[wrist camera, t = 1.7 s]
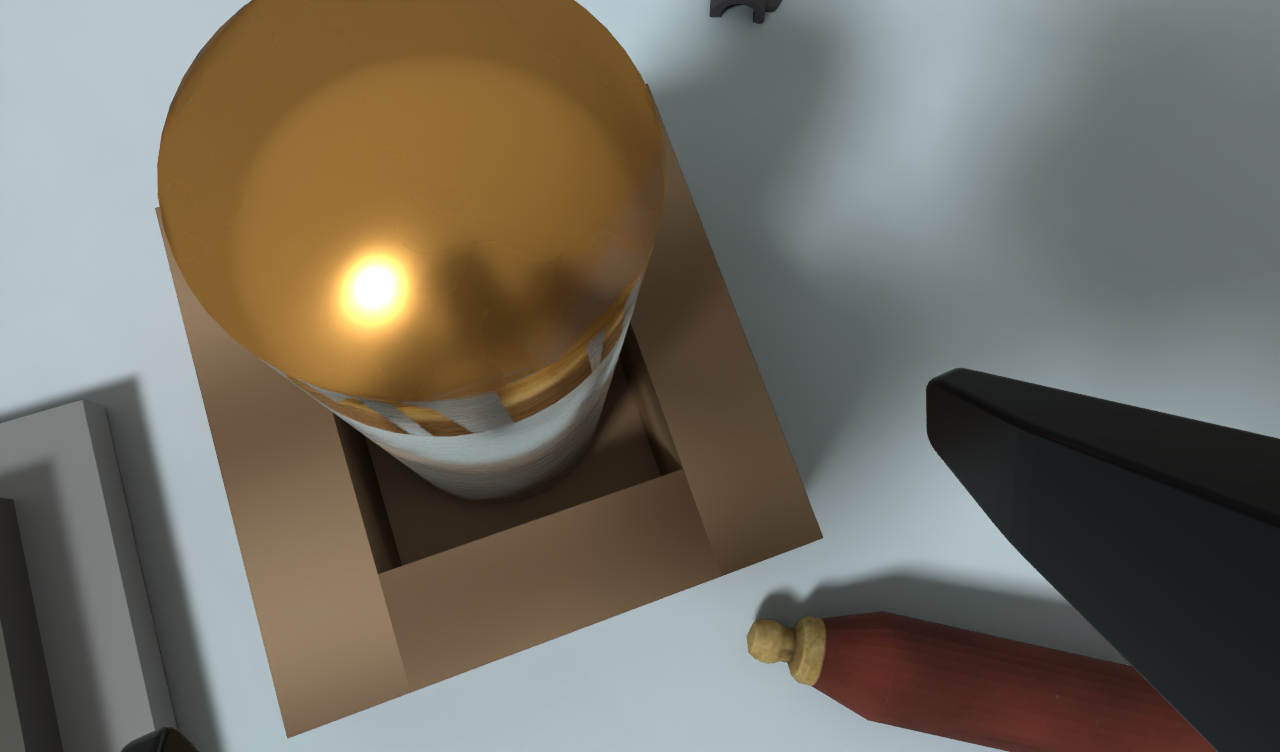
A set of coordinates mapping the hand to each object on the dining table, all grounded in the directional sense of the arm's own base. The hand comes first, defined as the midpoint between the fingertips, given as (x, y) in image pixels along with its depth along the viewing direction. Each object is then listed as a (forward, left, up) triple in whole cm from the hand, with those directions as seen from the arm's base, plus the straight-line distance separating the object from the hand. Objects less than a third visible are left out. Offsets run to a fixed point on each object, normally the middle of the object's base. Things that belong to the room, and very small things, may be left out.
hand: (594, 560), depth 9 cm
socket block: (+4, 0, -11) cm, 12 cm away
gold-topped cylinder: (+4, 0, -10) cm, 11 cm away
